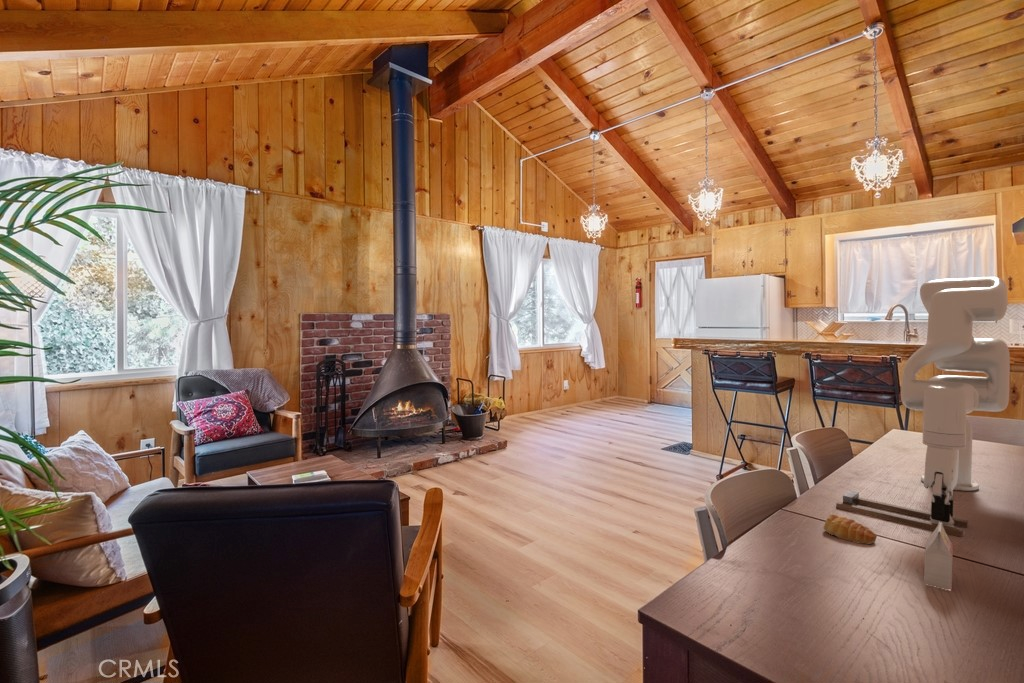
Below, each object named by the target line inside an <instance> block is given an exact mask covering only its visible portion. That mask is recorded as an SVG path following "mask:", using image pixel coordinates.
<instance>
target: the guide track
mask: <svg viewBox="0 0 1024 683" xmlns="http://www.w3.org/2000/svg"><path fill="white" fill-rule="evenodd" d="M835 504H836V508H837V509H839V510H844V509H845V511H848V510H849V511H848V512H852V513H853V512H854V513H857V514H862V515H867V516H870V517H875V518H879V519H883V520H888V521H891V522H895V523H900V524H904V525H908V526H912V527H913V526H914V527H915V528H916V527H917V528H921V529H925V530H930V531H932V532H934V530H935V529H936V527H937V526H938V524H935V523H930V521H931V519H930V517H931V512H929V511H924V510H919V509H914V508H911V507H907V506H901V505H897V504H893V503H892V504H891V503H886V502H881V501H878V500H872V499H869V498H863V497H859V504H860V505H864V506H867V507H863V506H859V504H858V505H857V506H855V505H851V504H846V503H843V501H842V502H841V501H837V502H836V503H835ZM868 507H873V508H876V509H872V508H868ZM877 509H882V510H885V511H881V510H877ZM886 511H891V512H894V513H899V515H898V514H894V513H890V512H886ZM900 514H904V515H908V516H913V517H917V518H922V519H926V520H929V521H925V520H921V519H916V518H911V517H908V516H904V515H900ZM952 519H953V520H954V524H953V525H954V526H958V527H963V528H968V526H969V520H966V519H961V518H957V517H954V516H953V517H952ZM943 528H944V530H945V532H946V534H947V535H952V536H955V537H959V536H960V537H959V538H962V537H963V536H964V529H961V528H957V527H954V528H953V527H948V526H944V525H943Z"/></svg>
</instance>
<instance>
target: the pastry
mask: <svg viewBox="0 0 1024 683" xmlns="http://www.w3.org/2000/svg"><path fill="white" fill-rule="evenodd" d="M823 530H824V531H825V532H826V533H829V534H828V535H830V534H831V536H833V535H834V536H835V537H837V538H839V539H841V538H843V539H842V540H846V541H848V540H850V541H849V542H852V541H855V542H854V543H856V542H859V543H858V544H867V545H870V544H873V543H875V542H876V541H877V540H876V539H877V538H878V536H877V535H876V533H874V532H873V531H872V530H871V529H869V528H868V527H867V526H864V525H863V524H862V523H859V522H856V521H855V520H854V519H852V518H851V519H850V518H847V517H845V516H838V515H836V514H830V515H829V516H828V517H827V518H826V519H825V522H824V525H823Z"/></svg>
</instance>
